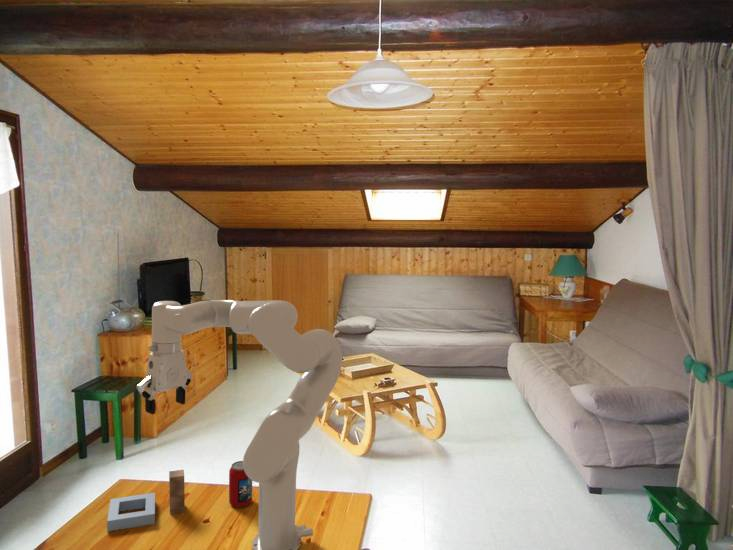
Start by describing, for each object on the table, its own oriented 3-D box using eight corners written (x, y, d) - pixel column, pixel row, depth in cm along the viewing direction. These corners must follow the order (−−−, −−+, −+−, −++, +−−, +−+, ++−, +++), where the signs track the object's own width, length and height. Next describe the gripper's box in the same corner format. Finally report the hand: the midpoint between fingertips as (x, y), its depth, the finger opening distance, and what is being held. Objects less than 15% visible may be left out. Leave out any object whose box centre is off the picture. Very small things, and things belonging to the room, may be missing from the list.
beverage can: (246, 510, 160) (246, 471, 159) (225, 507, 161) (225, 468, 160) (255, 498, 167) (256, 461, 165) (235, 495, 168) (235, 458, 167)
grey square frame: (155, 502, 163) (155, 492, 163) (154, 523, 152) (154, 513, 152) (110, 508, 159) (110, 498, 158) (107, 531, 148) (107, 521, 147)
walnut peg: (183, 504, 162) (183, 469, 161) (184, 511, 158) (184, 475, 157) (169, 506, 161) (169, 471, 159) (169, 514, 157) (169, 477, 156)
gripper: (147, 356, 138) (146, 420, 140) (201, 343, 153) (200, 402, 155) (129, 350, 142) (128, 413, 145) (183, 339, 157) (182, 396, 159)
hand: (165, 407), depth 150 cm, fingers open, 9 cm apart
